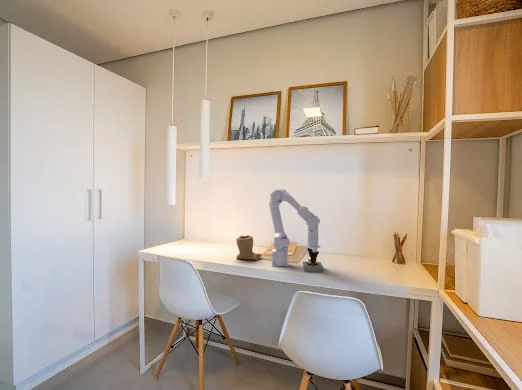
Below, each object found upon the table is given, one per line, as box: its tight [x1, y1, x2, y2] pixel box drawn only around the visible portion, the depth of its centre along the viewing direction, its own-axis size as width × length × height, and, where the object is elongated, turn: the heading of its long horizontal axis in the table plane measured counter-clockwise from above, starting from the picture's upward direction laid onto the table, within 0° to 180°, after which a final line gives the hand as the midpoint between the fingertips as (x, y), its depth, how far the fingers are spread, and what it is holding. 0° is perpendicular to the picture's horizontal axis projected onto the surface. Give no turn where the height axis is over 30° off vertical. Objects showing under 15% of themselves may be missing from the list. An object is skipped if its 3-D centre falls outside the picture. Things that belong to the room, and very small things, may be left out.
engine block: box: [302, 261, 324, 273], centre depth 156 cm, size 10×10×3 cm
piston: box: [307, 255, 317, 266], centre depth 156 cm, size 5×5×6 cm
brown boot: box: [236, 234, 263, 261], centre depth 178 cm, size 15×12×15 cm
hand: (312, 262), depth 156 cm, fingers open, 5 cm apart
